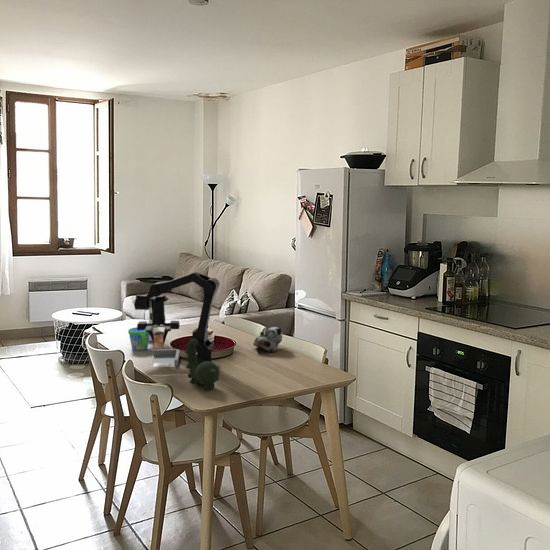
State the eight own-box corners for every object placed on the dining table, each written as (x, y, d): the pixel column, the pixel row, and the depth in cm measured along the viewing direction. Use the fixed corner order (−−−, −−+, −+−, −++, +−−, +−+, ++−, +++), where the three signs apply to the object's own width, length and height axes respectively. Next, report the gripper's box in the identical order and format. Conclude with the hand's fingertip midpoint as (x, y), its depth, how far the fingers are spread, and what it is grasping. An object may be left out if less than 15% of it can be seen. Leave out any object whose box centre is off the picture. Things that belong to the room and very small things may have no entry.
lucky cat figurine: (254, 345, 310) (266, 320, 311) (275, 356, 308) (288, 331, 309) (249, 345, 296) (262, 318, 296) (272, 356, 294) (285, 329, 295)
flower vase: (130, 339, 322) (128, 292, 318) (164, 335, 331) (162, 289, 327) (138, 345, 311) (136, 296, 307) (172, 340, 320) (171, 293, 316)
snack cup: (154, 352, 299) (153, 332, 297) (132, 354, 294) (131, 334, 293) (147, 344, 313) (146, 324, 311) (126, 346, 309) (125, 326, 307)
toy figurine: (180, 382, 260) (205, 395, 239) (178, 338, 259) (203, 347, 237) (201, 378, 265) (227, 390, 244) (198, 335, 263) (225, 343, 242)
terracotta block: (164, 344, 286) (163, 331, 285) (163, 347, 280) (162, 334, 279) (155, 344, 286) (155, 331, 285) (154, 347, 280) (153, 334, 279)
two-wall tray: (179, 355, 293) (179, 349, 292) (177, 367, 275) (177, 360, 275) (153, 356, 292) (153, 349, 291) (150, 368, 274) (149, 361, 273)
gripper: (179, 306, 289) (180, 338, 292) (139, 306, 287) (140, 339, 290) (178, 311, 278) (179, 344, 281) (136, 312, 276) (137, 345, 279)
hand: (159, 343), depth 283 cm, fingers closed on terracotta block, 4 cm apart
